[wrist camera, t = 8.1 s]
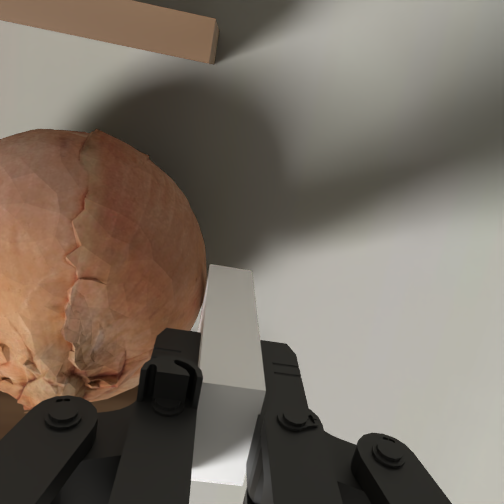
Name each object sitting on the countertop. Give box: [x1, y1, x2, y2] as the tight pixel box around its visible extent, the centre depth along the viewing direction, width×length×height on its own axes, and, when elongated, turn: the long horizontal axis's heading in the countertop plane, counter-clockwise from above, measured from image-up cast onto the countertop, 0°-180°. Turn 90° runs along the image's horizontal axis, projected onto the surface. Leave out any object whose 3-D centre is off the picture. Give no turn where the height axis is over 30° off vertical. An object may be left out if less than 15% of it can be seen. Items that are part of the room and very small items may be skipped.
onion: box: [0, 129, 207, 413], centre depth 17 cm, size 10×9×10 cm
